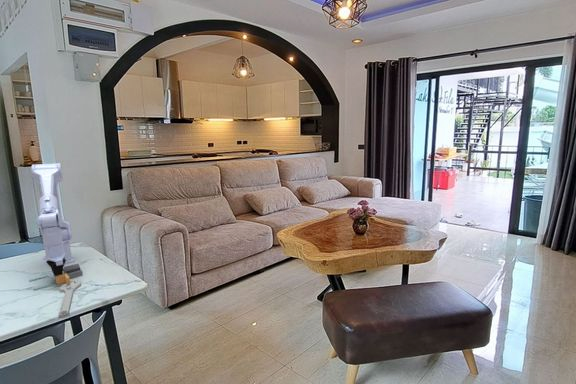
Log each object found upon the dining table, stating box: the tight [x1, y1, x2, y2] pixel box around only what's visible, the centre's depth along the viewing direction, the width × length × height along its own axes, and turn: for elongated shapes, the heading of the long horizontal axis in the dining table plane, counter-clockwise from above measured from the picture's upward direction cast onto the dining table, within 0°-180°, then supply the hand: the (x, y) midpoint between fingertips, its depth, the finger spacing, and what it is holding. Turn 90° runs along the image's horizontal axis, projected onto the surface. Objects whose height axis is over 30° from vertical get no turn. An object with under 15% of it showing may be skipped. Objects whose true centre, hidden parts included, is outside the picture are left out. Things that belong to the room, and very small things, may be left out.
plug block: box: [63, 263, 82, 274], centre depth 134 cm, size 5×5×4 cm
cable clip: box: [63, 267, 83, 280], centre depth 134 cm, size 8×5×2 cm, turn 44°
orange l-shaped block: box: [54, 273, 71, 286], centre depth 126 cm, size 5×4×3 cm
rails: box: [28, 274, 54, 292], centre depth 127 cm, size 11×6×1 cm, turn 44°
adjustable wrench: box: [58, 280, 82, 319], centre depth 115 cm, size 25×6×2 cm, turn 22°
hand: (58, 277), depth 128 cm, fingers closed
